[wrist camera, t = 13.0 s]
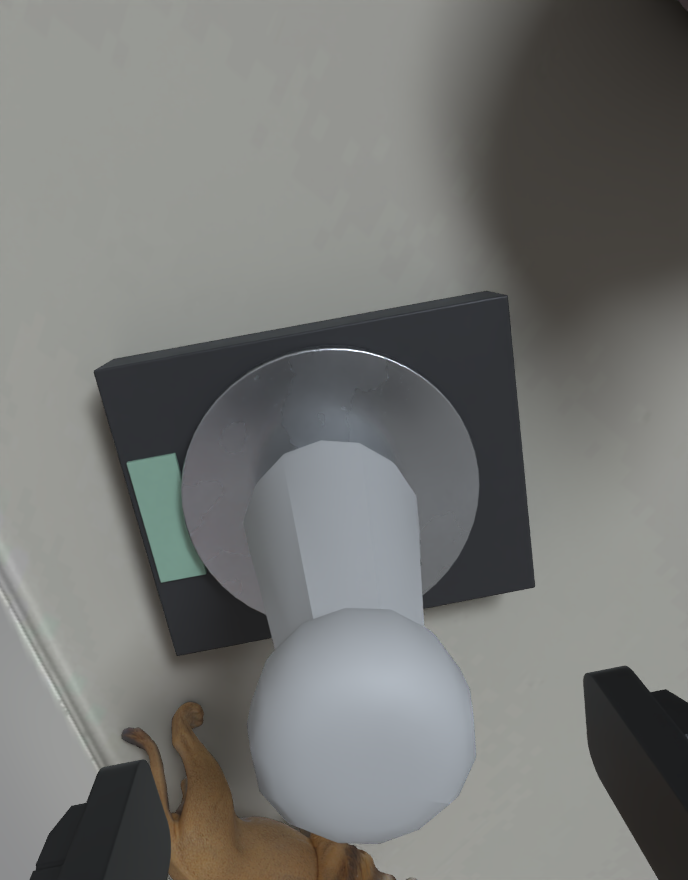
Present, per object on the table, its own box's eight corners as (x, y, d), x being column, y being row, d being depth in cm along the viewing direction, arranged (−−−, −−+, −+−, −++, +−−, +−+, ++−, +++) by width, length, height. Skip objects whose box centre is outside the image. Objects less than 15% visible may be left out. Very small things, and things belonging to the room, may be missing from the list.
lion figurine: (426, 779, 32) (474, 975, 23) (377, 856, 33) (406, 1070, 24) (146, 680, 29) (83, 861, 20) (103, 768, 30) (28, 974, 22)
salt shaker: (284, 590, 24) (271, 943, 12) (224, 457, 23) (137, 707, 10) (428, 537, 24) (568, 841, 12) (378, 399, 23) (480, 583, 10)
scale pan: (221, 640, 26) (219, 652, 25) (150, 375, 22) (145, 379, 22) (488, 588, 26) (494, 599, 25) (456, 319, 23) (462, 321, 22)
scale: (186, 622, 28) (175, 660, 26) (112, 359, 25) (90, 371, 22) (515, 559, 29) (537, 590, 26) (488, 290, 25) (510, 294, 23)
